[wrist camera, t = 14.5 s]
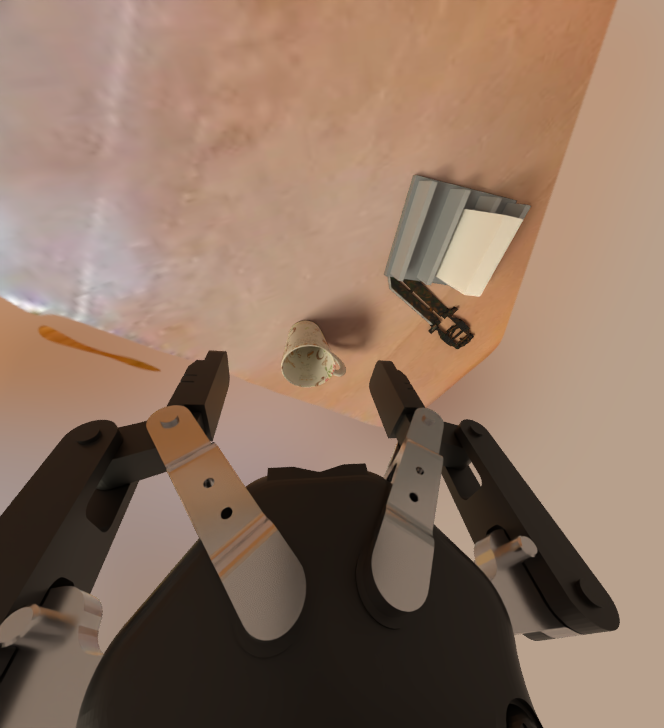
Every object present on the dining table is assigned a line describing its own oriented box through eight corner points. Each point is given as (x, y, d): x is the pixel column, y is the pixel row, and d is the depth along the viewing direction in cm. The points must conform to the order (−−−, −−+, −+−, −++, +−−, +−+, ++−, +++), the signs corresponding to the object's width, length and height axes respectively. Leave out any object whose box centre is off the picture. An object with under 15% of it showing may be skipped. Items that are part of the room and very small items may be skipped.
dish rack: (383, 274, 39) (393, 283, 35) (413, 175, 31) (429, 174, 28) (467, 286, 42) (483, 295, 39) (512, 200, 35) (537, 202, 31)
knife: (379, 277, 40) (381, 280, 38) (410, 246, 37) (413, 248, 36) (447, 352, 52) (451, 356, 51) (474, 333, 50) (478, 336, 49)
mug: (295, 306, 40) (297, 336, 32) (353, 335, 45) (367, 367, 38) (275, 342, 44) (272, 377, 36) (330, 366, 49) (338, 400, 41)
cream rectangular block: (428, 271, 39) (464, 294, 31) (454, 207, 33) (505, 215, 25) (441, 273, 39) (479, 296, 31) (469, 210, 34) (523, 219, 26)
